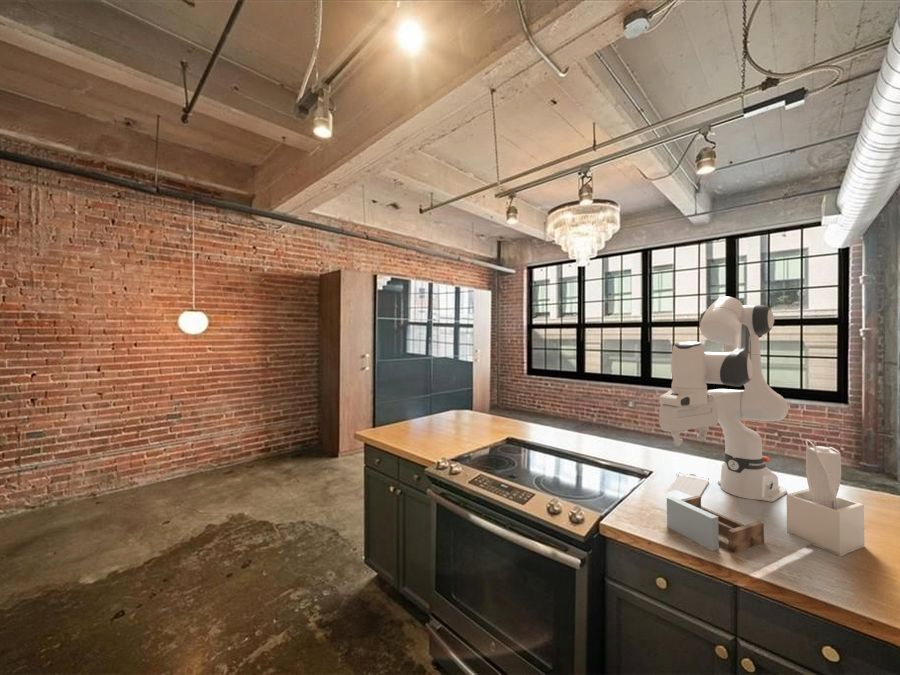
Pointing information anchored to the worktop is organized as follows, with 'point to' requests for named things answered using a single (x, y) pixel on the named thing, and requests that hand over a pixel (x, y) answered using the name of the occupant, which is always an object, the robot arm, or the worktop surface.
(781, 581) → the worktop surface
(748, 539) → the rack
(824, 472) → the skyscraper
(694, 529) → the pale blue-grey board
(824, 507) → the open white box
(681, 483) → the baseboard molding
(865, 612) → the worktop surface
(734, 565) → the worktop surface
